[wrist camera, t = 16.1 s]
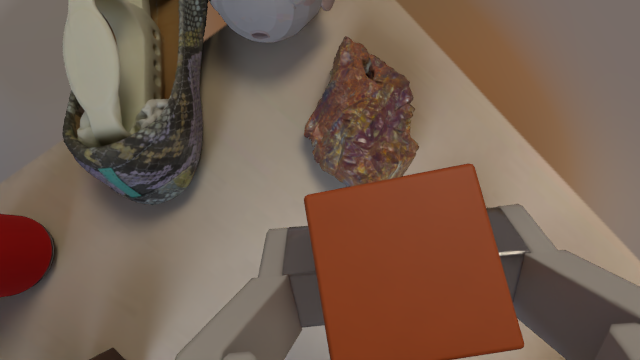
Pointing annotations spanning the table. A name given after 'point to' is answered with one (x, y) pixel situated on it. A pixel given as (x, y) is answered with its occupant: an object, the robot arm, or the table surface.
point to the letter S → (411, 269)
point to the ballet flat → (135, 93)
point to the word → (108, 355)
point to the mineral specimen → (362, 119)
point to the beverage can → (23, 253)
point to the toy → (268, 16)
